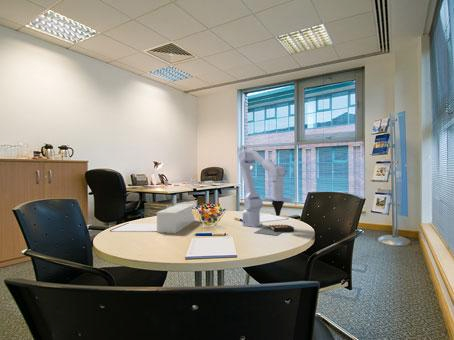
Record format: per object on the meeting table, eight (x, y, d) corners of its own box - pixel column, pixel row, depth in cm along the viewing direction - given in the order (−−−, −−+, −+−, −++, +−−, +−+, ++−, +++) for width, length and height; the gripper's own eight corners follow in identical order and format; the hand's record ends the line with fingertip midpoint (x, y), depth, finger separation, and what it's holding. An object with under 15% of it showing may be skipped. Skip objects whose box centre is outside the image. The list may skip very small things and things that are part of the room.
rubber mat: (254, 233, 133) (254, 232, 133) (265, 226, 147) (265, 226, 147) (276, 235, 127) (276, 235, 127) (286, 228, 141) (286, 228, 141)
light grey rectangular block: (178, 220, 168) (178, 203, 168) (194, 220, 166) (194, 204, 166) (156, 232, 137) (156, 212, 137) (176, 233, 135) (175, 212, 135)
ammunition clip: (274, 228, 134) (267, 223, 145) (274, 231, 133) (267, 227, 145) (293, 227, 135) (285, 223, 147) (293, 230, 135) (285, 226, 147)
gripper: (261, 189, 135) (262, 215, 135) (289, 190, 128) (289, 218, 128) (266, 188, 141) (266, 213, 141) (293, 189, 134) (293, 215, 134)
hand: (278, 215), depth 135 cm, fingers closed
